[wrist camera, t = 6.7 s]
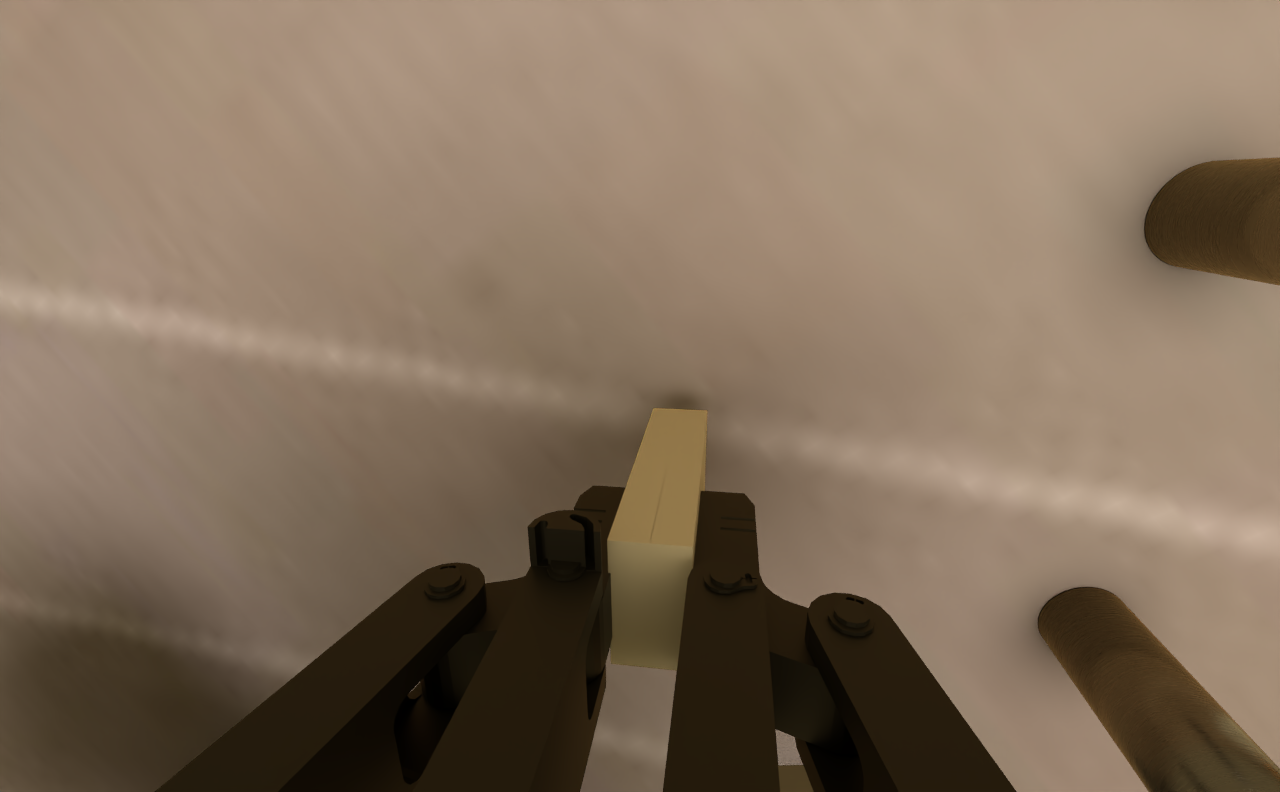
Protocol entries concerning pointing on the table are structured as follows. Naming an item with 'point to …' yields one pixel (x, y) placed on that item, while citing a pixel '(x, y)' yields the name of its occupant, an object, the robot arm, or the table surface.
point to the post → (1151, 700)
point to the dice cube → (794, 779)
